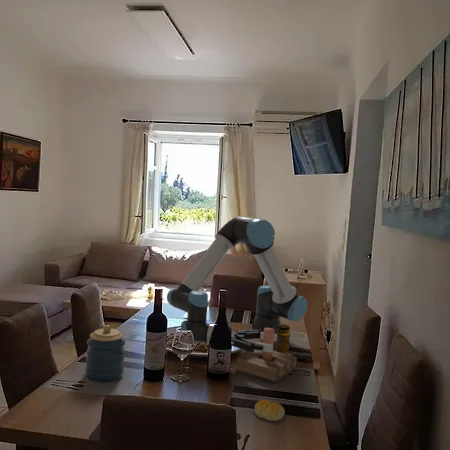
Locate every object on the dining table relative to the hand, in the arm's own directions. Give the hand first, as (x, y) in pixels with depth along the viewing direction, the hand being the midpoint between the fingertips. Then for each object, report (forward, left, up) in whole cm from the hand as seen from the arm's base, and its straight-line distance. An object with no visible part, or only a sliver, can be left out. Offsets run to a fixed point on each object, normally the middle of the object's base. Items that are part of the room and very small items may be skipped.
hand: (274, 343), depth 177 cm
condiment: (-20, -7, -11) cm, 24 cm away
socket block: (+1, -2, -11) cm, 11 cm away
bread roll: (+31, +15, -11) cm, 37 cm away
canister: (+45, -42, -11) cm, 63 cm away
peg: (+1, -2, -10) cm, 10 cm away
